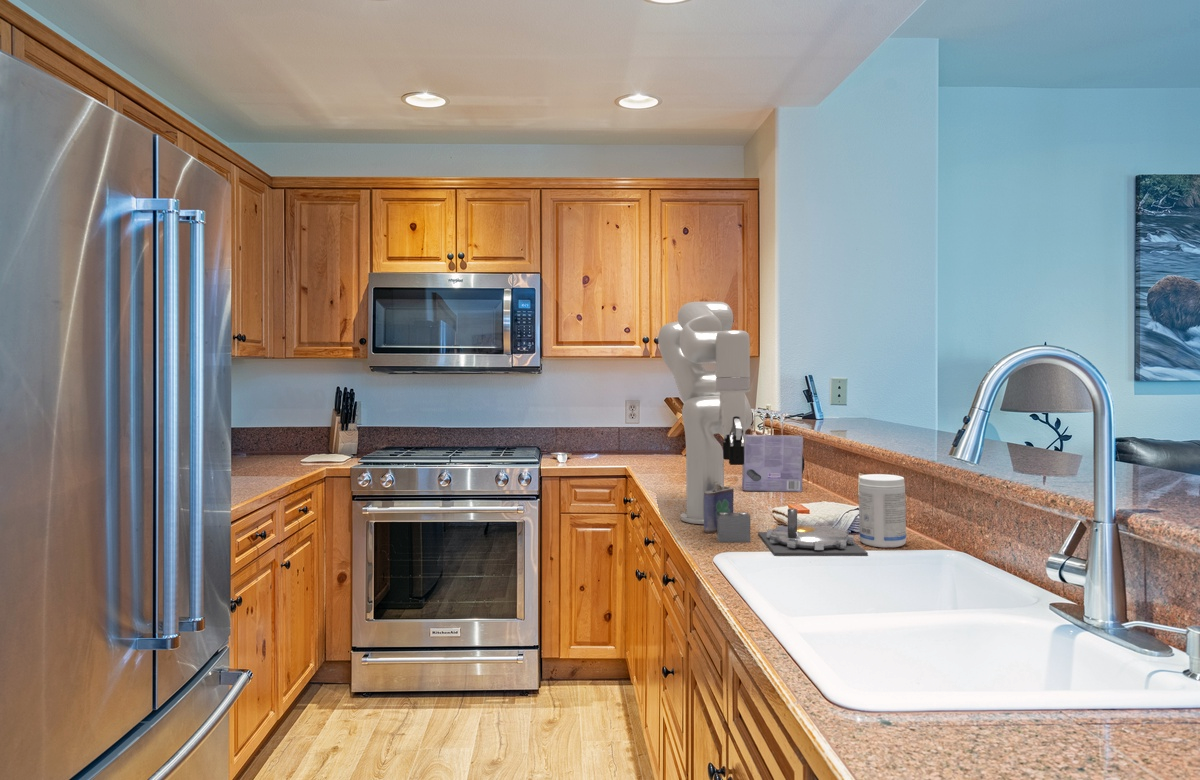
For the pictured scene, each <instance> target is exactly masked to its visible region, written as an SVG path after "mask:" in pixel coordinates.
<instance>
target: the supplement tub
mask: <svg viewBox="0 0 1200 780" xmlns="http://www.w3.org/2000/svg"><path fill="white" fill-rule="evenodd" d="M858 480H859V481H858V508H859V509H858V513H859V514H858V518H859V519H858V520H859V521H858V522H859V523H858V524H859V540H860V542H861V543H863V544H864V545H867V546H870V547H876V548H893V549H894V548H899V547H902V546H904V545H905V544H906V541H907V520H906V519H907V515H906V513H907V512H906V511H907V509H906V483H905V477H903V476H901V475H897V474H886V473H885V474H884V473H883V474H882V473H872V474H862V475H860V476H859V479H858Z"/></svg>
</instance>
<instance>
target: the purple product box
mask: <svg viewBox="0 0 1200 780" xmlns="http://www.w3.org/2000/svg"><path fill="white" fill-rule="evenodd" d="M743 442H744V464H743V465H742V476H741V477H742V479H741V480H742V481H741V482H742V484H741V485H742V486H741V488H742V489H743V491H744V492H769V493H770V492H773V493H775V492H777V493H778V492H786V493H787V492H793V493H794V492H796V493H798V492H799V493H802V492H803V474H804V471H805V467H806V466H805V464H806V463H805V457H804V454H803V452H804V437H803V435H784V434H783V435H781V434H780V435H779V434H776V435H775V434H745V435H744V436H743Z"/></svg>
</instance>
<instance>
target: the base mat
mask: <svg viewBox="0 0 1200 780" xmlns="http://www.w3.org/2000/svg"><path fill="white" fill-rule="evenodd" d="M757 535H758V536H759V537H760V539H761V540H762V541H763V543H764V544H765V546H766V547H767V548H768V549H769V551H770V552H771V553H772V554H773V556H774V557H775V556H776V557H777V556H779V557H781V556H783V557H785V556H789V557H790V556H795V557H796V556H799V557H803V556H805V557H806V556H810V557H812V556H813V557H814V556H815V557H817V556H818V557H819V556H822V557H823V556H825V557H826V556H827V557H828V556H831V557H832V556H835V557H838V556H840V557H841V556H842V557H843V556H845V557H846V556H848V557H850V556H853V557H857V556H861V557H862V556H866V557H867V556H868V555H869V553H868V552H867V551H866V550H865V549H864V548H862V547H861V546H860V545H858V544H857V543H856V542H855V541H854V543H853V544H850V543H847V544H846V548H841V549H840V548H836V547H835V548H824V550H814V548H800V547H797V548H790V547H787V545H784V544H780V543H772V542H770V537H767V531H758V532H757Z"/></svg>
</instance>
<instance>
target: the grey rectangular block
mask: <svg viewBox="0 0 1200 780" xmlns="http://www.w3.org/2000/svg"><path fill="white" fill-rule="evenodd" d="M716 539H717V541H718V543H751V514H749V513H748V512H746V511H740V512H733V513H726V512H720V513H717V532H716Z"/></svg>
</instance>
